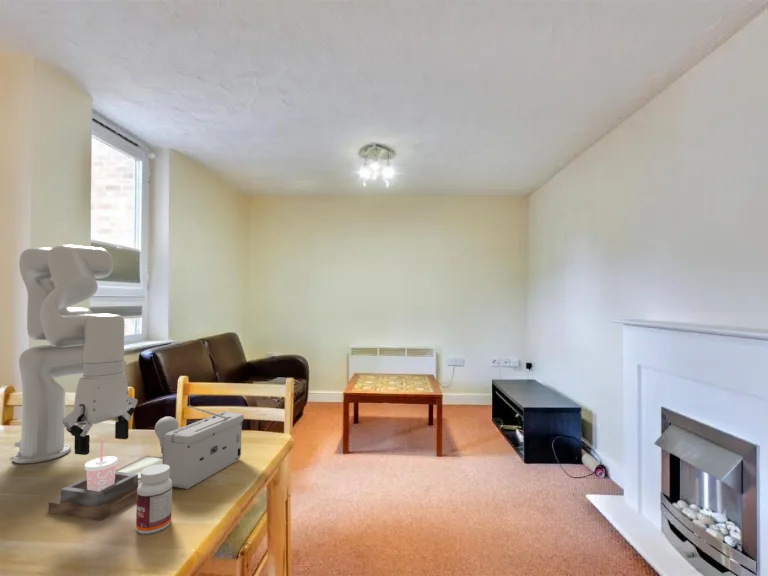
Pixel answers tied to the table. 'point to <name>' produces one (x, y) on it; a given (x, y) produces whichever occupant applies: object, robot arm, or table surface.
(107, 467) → the beverage cup
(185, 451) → the stereo radio cassette player
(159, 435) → the lightbulb
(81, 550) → the table surface
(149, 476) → the pill bottle
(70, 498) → the socket board
